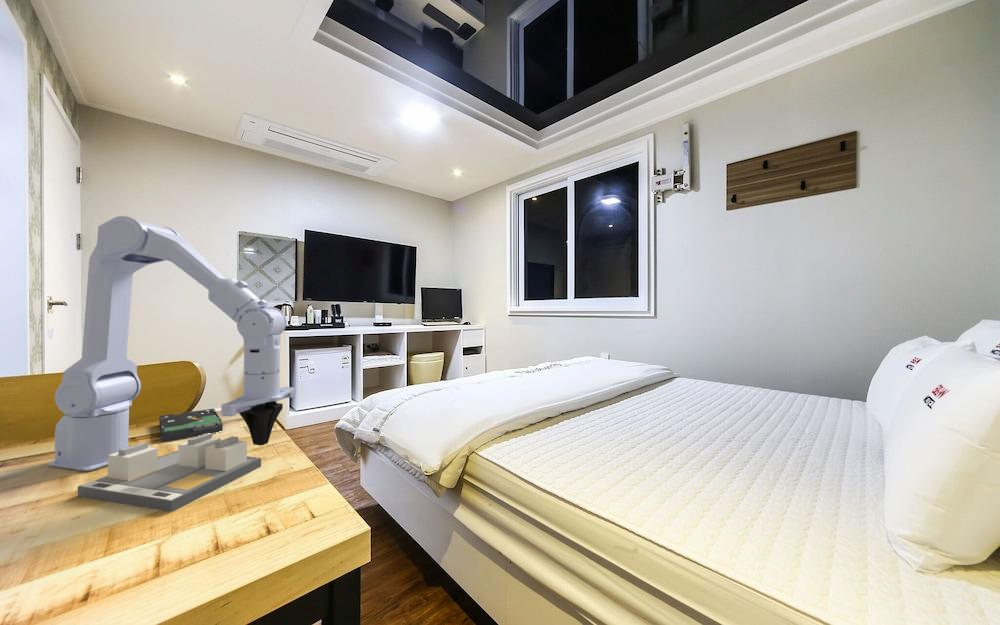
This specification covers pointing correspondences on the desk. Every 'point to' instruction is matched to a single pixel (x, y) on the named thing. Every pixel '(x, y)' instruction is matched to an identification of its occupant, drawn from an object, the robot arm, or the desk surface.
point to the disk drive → (189, 424)
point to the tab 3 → (226, 454)
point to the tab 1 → (132, 462)
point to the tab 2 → (195, 450)
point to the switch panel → (165, 484)
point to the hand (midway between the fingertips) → (260, 443)
